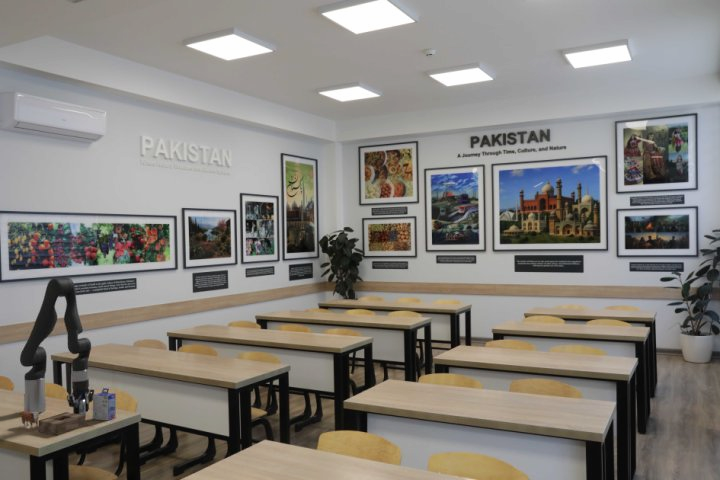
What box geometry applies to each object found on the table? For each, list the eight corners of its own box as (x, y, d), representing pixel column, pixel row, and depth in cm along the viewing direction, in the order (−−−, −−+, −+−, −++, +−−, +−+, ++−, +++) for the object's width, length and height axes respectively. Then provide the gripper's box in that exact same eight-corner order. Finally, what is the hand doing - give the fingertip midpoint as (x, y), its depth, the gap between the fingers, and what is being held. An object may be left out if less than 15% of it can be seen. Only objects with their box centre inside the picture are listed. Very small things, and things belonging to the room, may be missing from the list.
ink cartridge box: (116, 417, 283) (116, 388, 283) (108, 421, 278) (107, 391, 278) (100, 416, 286) (100, 387, 286) (92, 419, 281) (91, 390, 281)
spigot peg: (75, 418, 283) (74, 400, 283) (82, 416, 287) (81, 398, 287) (80, 419, 281) (80, 401, 281) (87, 417, 285) (87, 399, 285)
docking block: (38, 431, 265) (38, 420, 265) (66, 422, 277) (66, 412, 277) (58, 435, 258) (57, 424, 258) (85, 426, 271) (85, 415, 271)
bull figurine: (34, 431, 265) (34, 413, 265) (19, 426, 272) (18, 409, 272) (43, 428, 269) (43, 411, 269) (28, 423, 276) (28, 407, 276)
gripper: (88, 375, 292) (88, 408, 292) (62, 381, 280) (63, 416, 280) (98, 376, 289) (98, 410, 289) (72, 383, 276) (73, 418, 276)
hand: (81, 412), depth 284 cm, fingers open, 5 cm apart
